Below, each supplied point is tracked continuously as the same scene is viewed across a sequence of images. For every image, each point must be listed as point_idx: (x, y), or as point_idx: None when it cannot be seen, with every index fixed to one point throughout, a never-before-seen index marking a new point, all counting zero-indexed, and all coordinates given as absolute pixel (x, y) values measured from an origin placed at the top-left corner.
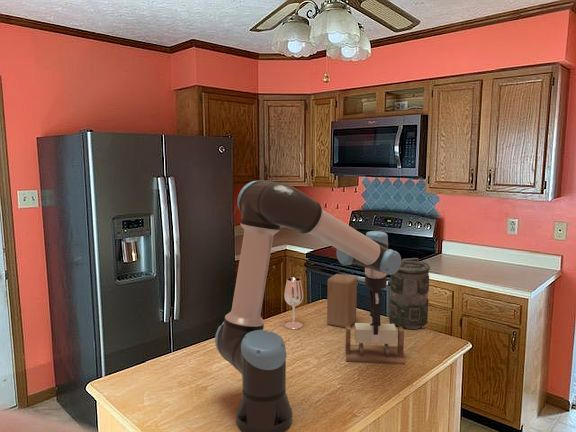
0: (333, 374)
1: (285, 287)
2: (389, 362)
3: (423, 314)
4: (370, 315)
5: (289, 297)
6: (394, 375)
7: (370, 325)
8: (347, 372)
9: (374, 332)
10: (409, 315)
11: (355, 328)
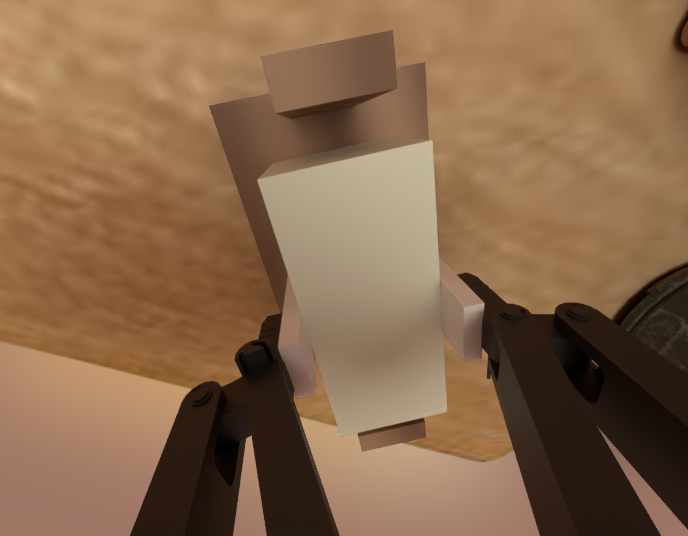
0: (5, 48)
1: None
2: (279, 308)
3: None
4: (498, 313)
5: None
6: (187, 331)
7: (251, 343)
8: (89, 135)
9: (262, 333)
10: None
11: (328, 161)
